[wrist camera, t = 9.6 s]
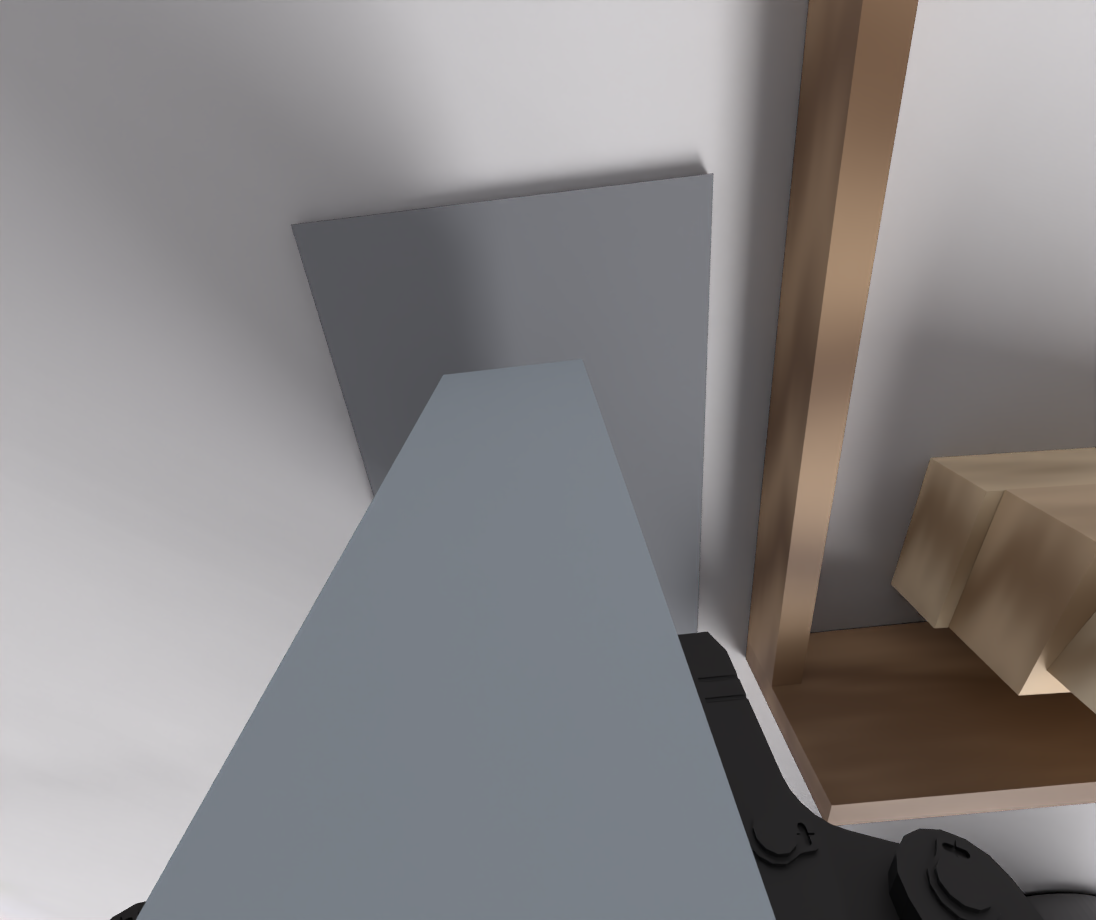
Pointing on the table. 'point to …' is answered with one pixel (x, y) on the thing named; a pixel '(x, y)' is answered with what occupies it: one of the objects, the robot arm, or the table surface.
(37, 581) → the table surface
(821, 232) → the rack
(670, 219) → the mat
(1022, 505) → the block
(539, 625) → the pale blue chunky brick
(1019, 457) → the block
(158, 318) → the table surface
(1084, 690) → the offcut top
